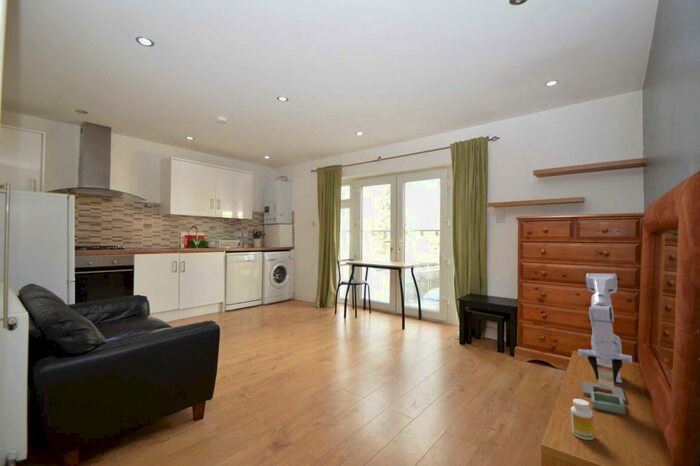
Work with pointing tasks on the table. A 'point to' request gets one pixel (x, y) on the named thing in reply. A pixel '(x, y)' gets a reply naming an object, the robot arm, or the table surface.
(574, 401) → the supplement bottle
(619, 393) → the holder board
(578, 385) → the table surface
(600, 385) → the block
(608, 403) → the tray
